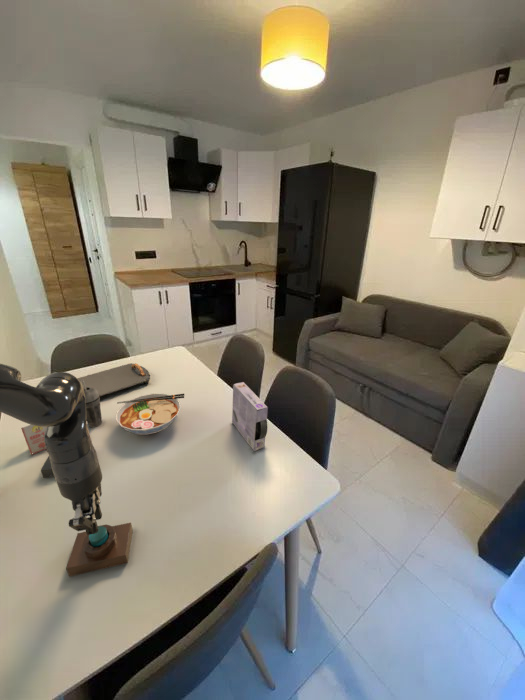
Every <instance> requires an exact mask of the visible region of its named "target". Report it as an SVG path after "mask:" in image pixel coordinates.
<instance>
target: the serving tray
mask: <svg viewBox="0 0 525 700" xmlns="http://www.w3.org/2000/svg"><path fill="white" fill-rule="evenodd" d="M76 378H77V379H78V380H79V381H80V383H81V384H82V386H83V383H82V379H83V381H84V384H85V387H86V388H87V387H91V388H94V389H96V390H97V391H98V393H99V395H100V398H101V397H103V396H106V395H110V394H113V393H117V392H118V391H119V392H120V391H122V390H125V389H129V388H131V387H133V386H136V385H140V384H142V383H143V384H145V385H148V384H149V382H150V380H151V374H150V372H149V369H146V367H144V366H142V365H140V364H139V363H126V364H122V365H119V366H116V367H112V368H109V369H105V370H101V371H98V372H94V373H91V374H87V375H84V376H80V377H76ZM83 389H84V386H83Z"/></svg>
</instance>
